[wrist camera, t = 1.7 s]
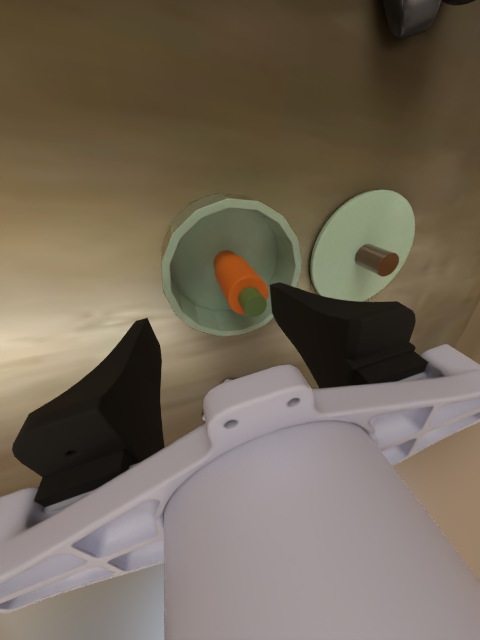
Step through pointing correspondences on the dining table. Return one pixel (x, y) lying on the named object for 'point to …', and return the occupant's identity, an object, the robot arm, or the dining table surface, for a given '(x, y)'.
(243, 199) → the pot
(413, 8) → the can opener
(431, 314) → the dining table surface
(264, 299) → the carrot
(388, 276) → the lid
